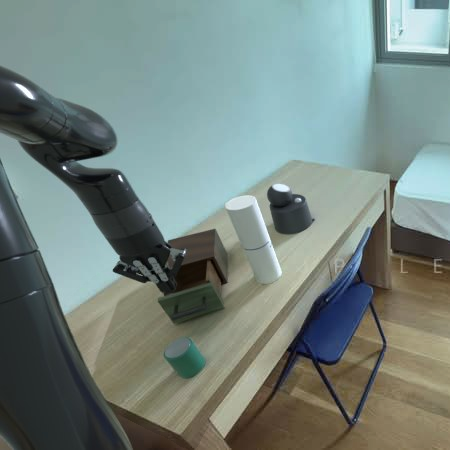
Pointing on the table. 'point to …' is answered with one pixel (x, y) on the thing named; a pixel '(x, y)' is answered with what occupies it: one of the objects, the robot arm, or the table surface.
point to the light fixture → (288, 210)
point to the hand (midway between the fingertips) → (171, 290)
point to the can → (184, 357)
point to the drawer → (193, 292)
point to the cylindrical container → (254, 238)
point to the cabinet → (202, 250)
